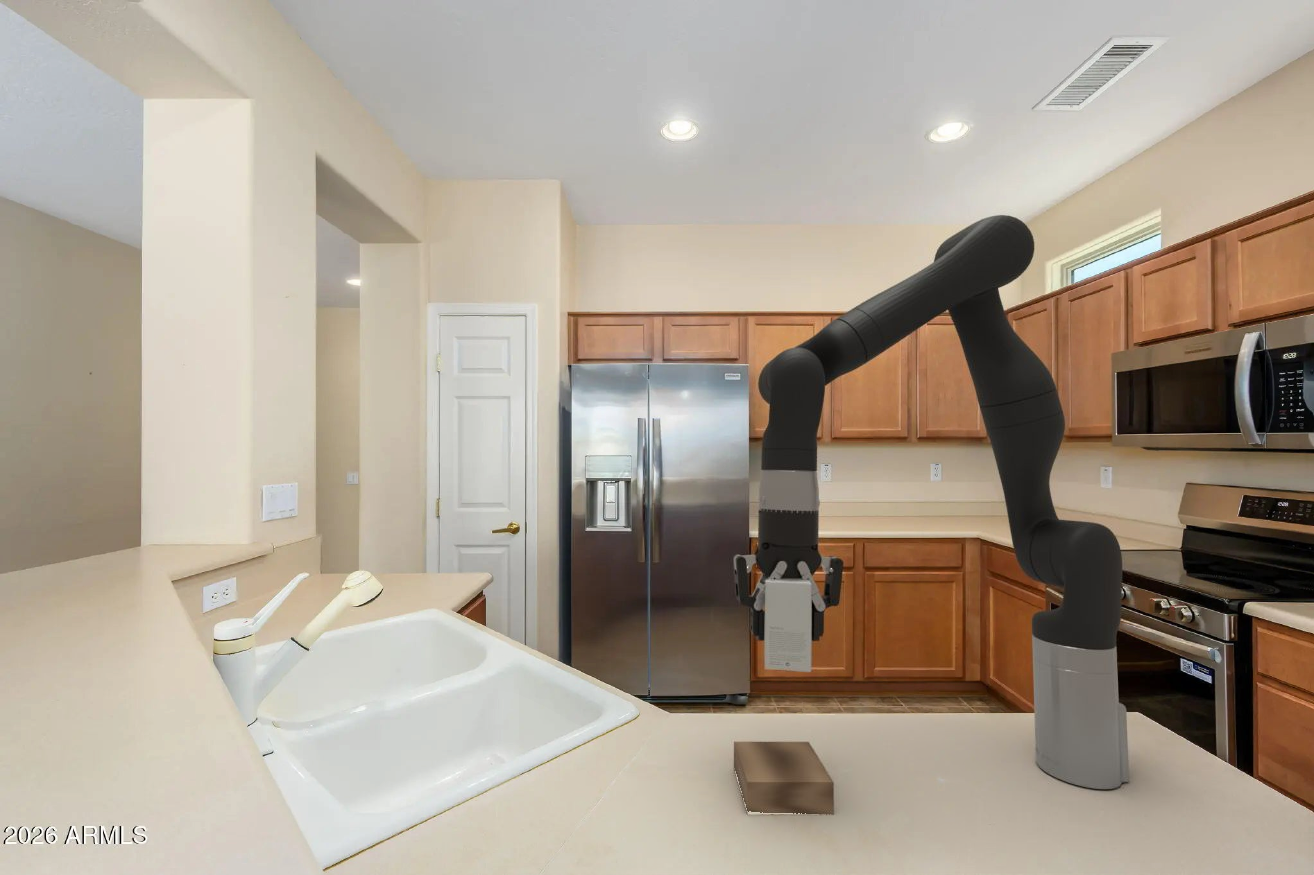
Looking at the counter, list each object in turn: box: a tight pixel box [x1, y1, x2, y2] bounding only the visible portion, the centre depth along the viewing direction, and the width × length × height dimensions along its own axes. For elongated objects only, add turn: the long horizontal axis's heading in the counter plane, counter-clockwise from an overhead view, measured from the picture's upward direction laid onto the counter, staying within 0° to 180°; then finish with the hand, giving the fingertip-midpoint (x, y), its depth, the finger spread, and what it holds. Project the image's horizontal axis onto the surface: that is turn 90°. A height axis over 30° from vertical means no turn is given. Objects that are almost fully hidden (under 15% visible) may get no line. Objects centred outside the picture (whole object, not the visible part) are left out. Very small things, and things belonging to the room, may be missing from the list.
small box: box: [763, 578, 813, 673], centre depth 72 cm, size 8×6×10 cm
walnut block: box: [733, 741, 835, 816], centre depth 71 cm, size 10×10×4 cm
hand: (786, 639), depth 72 cm, fingers closed on small box, 6 cm apart
